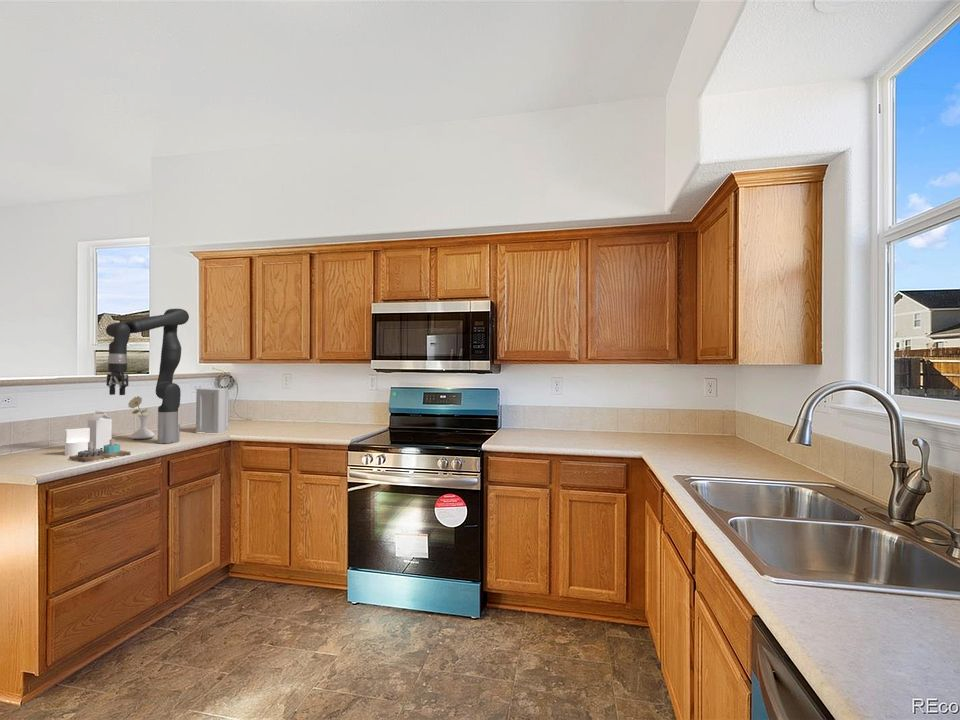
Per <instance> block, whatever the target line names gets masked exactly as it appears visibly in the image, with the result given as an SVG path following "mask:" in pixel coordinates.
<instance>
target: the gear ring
mask: <svg viewBox="0 0 960 720" xmlns="http://www.w3.org/2000/svg"><path fill="white" fill-rule="evenodd" d="M102 450H103V453H105V454H110V453H118V452H120V450H121V443H114V445H112V446H109V444H108V445H104V449H102Z"/></svg>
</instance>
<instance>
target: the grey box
mask: <svg viewBox="0 0 960 720" xmlns="http://www.w3.org/2000/svg"><path fill="white" fill-rule="evenodd" d="M229 390H230V389H229V388H228V387H227V388H226V387H225V388H224V387H220V388H217V387H216V388H215V387H214V388H196V395H195V396H196V401H195V402H196V404H195V406H196V407H195V410H196V411H195V433H196V432H205V433H222V432H225V431H226V430H227V429H228V430H229V398H230V397H229V395H230V393H229V392H230V391H229Z"/></svg>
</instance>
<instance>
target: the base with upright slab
mask: <svg viewBox="0 0 960 720" xmlns="http://www.w3.org/2000/svg"><path fill="white" fill-rule="evenodd" d="M88 442H90V428H88V427H84V428H70V429H68V428H66V429H65V430H64V456H68V455H70V456H75V455H76V454H78V452H80V451H85V450H88Z"/></svg>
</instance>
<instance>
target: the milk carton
mask: <svg viewBox="0 0 960 720" xmlns="http://www.w3.org/2000/svg"><path fill="white" fill-rule="evenodd" d="M112 425H113V419H112V418H111V417H110V416H109V415H108V414H106V413H105V411H98V410H97V411H95V413H94V414H93V415H92V416H90V417H88V419H87V428H90V441H92V442H93V449H98V450H101V449H100V448H104V445H108V444H110V439H113V437H112V434H113V433H112V432H113V431H112V430H113V426H112Z"/></svg>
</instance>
